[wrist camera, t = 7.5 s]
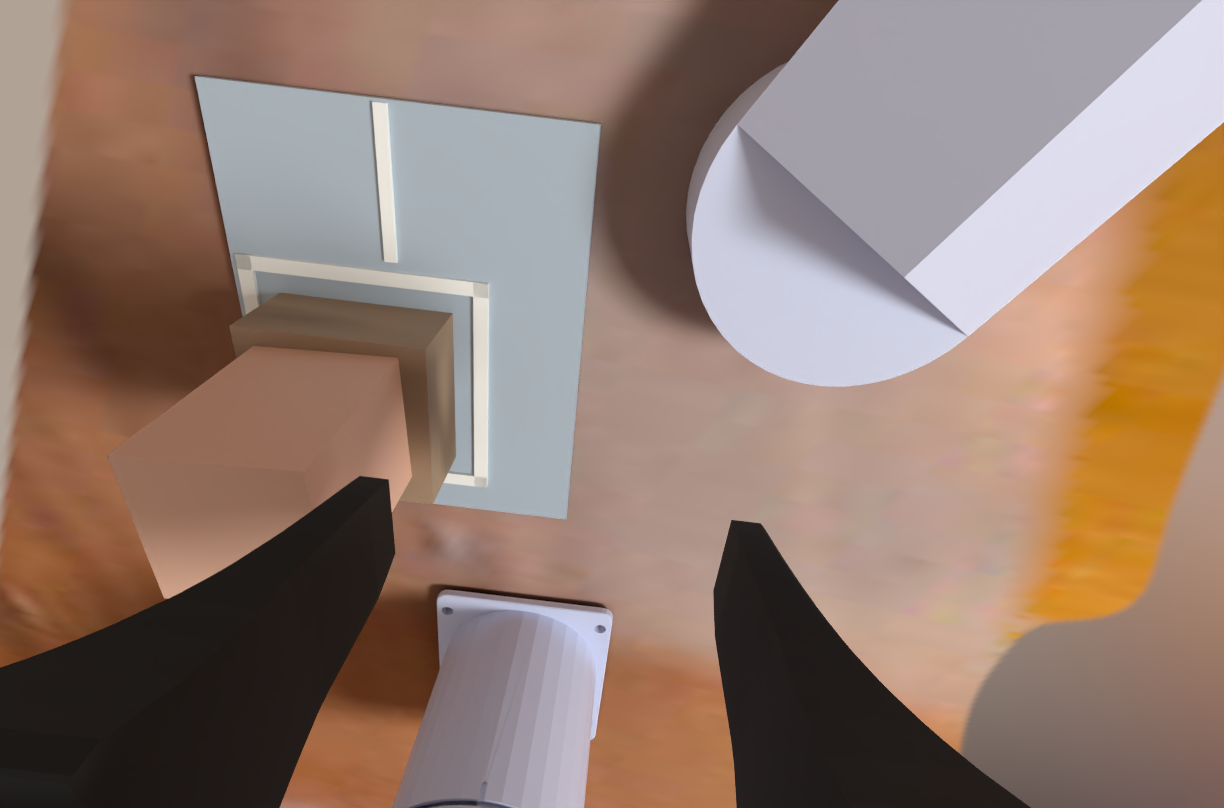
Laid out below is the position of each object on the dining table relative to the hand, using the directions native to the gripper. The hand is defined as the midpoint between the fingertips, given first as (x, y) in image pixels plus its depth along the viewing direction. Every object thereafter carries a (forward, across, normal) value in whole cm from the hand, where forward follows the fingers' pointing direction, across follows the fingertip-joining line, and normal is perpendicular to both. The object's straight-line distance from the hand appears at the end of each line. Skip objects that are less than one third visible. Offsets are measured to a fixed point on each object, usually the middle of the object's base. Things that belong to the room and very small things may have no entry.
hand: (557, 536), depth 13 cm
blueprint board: (+10, +6, 0) cm, 12 cm away
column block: (+7, +8, +2) cm, 11 cm away
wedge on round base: (+11, -8, -7) cm, 15 cm away
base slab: (+10, +8, +2) cm, 13 cm away
